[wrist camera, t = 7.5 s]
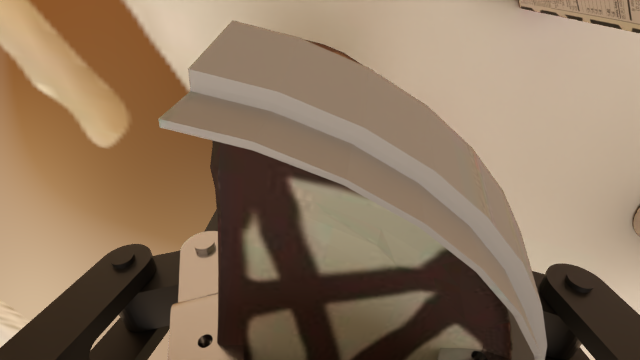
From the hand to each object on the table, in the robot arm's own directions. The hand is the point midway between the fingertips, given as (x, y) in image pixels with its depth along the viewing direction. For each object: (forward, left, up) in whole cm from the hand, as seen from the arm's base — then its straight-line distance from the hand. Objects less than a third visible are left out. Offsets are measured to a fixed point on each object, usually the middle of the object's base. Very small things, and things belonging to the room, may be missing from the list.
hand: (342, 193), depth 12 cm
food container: (-1, 0, -2) cm, 2 cm away
